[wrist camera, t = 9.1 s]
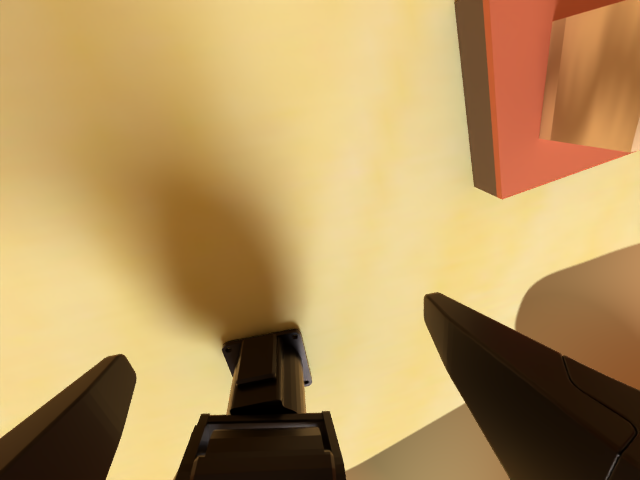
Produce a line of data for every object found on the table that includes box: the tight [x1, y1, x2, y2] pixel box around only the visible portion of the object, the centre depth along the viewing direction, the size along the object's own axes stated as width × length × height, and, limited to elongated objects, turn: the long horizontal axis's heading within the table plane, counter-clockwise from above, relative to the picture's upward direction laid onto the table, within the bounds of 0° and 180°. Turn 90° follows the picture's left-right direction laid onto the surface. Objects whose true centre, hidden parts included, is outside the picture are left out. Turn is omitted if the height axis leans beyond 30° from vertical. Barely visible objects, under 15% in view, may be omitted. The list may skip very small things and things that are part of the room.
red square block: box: [455, 0, 636, 199], centre depth 17 cm, size 11×11×4 cm
